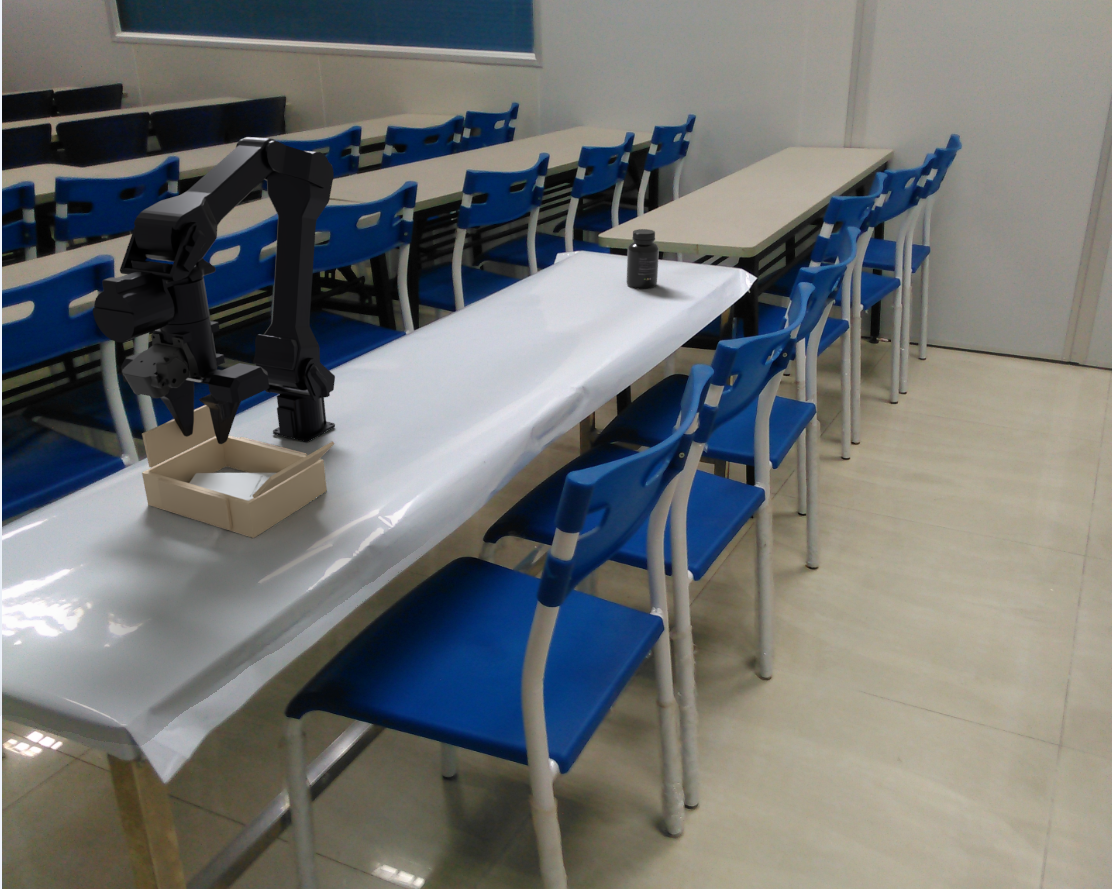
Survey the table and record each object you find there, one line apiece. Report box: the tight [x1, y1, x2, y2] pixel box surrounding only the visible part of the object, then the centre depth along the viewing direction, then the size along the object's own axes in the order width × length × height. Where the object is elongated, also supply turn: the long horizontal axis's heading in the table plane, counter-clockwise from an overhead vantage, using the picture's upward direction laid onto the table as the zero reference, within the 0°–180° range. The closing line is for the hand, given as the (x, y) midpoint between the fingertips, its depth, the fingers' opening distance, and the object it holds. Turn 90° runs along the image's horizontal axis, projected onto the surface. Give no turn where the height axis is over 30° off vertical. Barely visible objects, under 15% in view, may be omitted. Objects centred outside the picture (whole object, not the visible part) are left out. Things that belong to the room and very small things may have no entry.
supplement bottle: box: [626, 228, 660, 290], centre depth 210 cm, size 7×7×12 cm
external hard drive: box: [190, 472, 276, 501], centre depth 120 cm, size 2×8×12 cm
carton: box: [141, 434, 328, 539], centre depth 120 cm, size 14×17×4 cm
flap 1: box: [141, 404, 216, 468], centre depth 121 cm, size 4×11×1 cm
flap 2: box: [253, 441, 336, 498], centre depth 114 cm, size 4×11×1 cm
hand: (205, 439), depth 119 cm, fingers open, 5 cm apart
